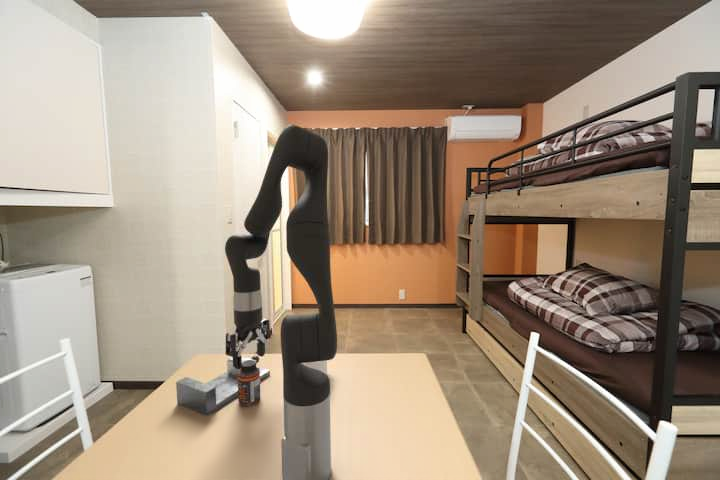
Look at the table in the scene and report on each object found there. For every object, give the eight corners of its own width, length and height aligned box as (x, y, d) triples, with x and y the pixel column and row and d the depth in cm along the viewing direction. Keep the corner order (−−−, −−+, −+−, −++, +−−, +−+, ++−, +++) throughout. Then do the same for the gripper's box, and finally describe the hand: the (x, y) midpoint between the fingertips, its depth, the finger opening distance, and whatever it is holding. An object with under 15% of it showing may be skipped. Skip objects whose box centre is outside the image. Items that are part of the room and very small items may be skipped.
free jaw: (248, 380, 100) (248, 365, 100) (227, 373, 104) (226, 359, 104) (268, 367, 108) (268, 353, 108) (248, 362, 112) (247, 348, 112)
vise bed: (207, 415, 85) (205, 392, 85) (177, 404, 90) (176, 381, 90) (269, 374, 107) (269, 355, 106) (242, 367, 112) (242, 349, 111)
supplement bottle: (233, 403, 91) (232, 364, 90) (249, 393, 96) (248, 356, 95) (249, 409, 88) (247, 369, 87) (265, 398, 93) (263, 360, 92)
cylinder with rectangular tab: (322, 383, 101) (322, 346, 100) (295, 381, 103) (294, 344, 102) (329, 369, 110) (329, 335, 109) (304, 367, 111) (303, 333, 110)
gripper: (237, 315, 82) (240, 376, 83) (276, 300, 94) (277, 354, 96) (216, 311, 85) (219, 370, 87) (256, 297, 98) (258, 349, 99)
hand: (250, 361), depth 91 cm, fingers open, 8 cm apart
